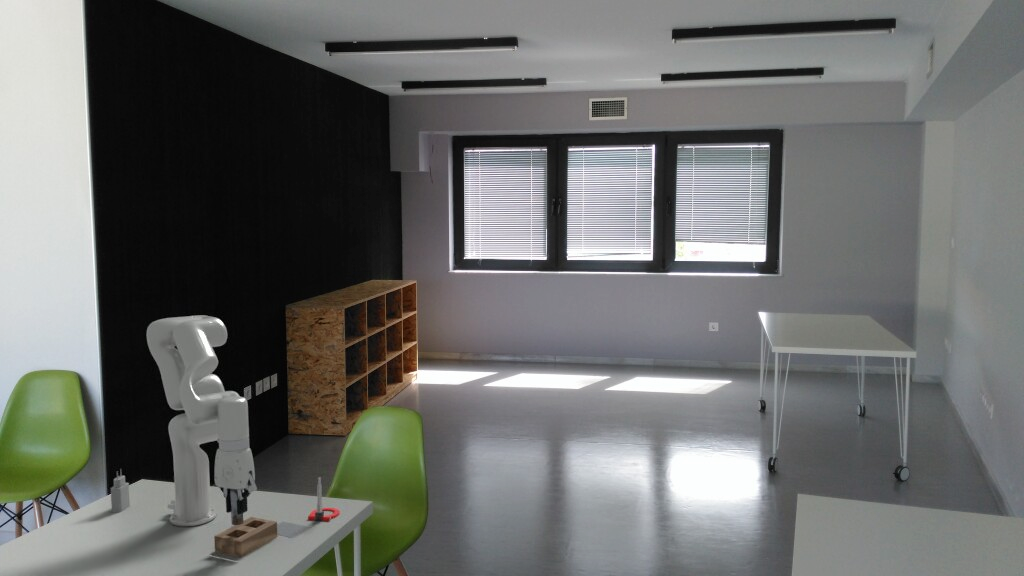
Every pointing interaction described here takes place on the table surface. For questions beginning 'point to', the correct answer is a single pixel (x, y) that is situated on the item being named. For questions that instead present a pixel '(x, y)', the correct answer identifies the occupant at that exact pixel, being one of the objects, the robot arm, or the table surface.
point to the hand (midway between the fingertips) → (237, 511)
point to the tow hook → (318, 513)
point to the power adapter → (120, 494)
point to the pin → (235, 508)
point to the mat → (290, 529)
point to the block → (245, 536)
